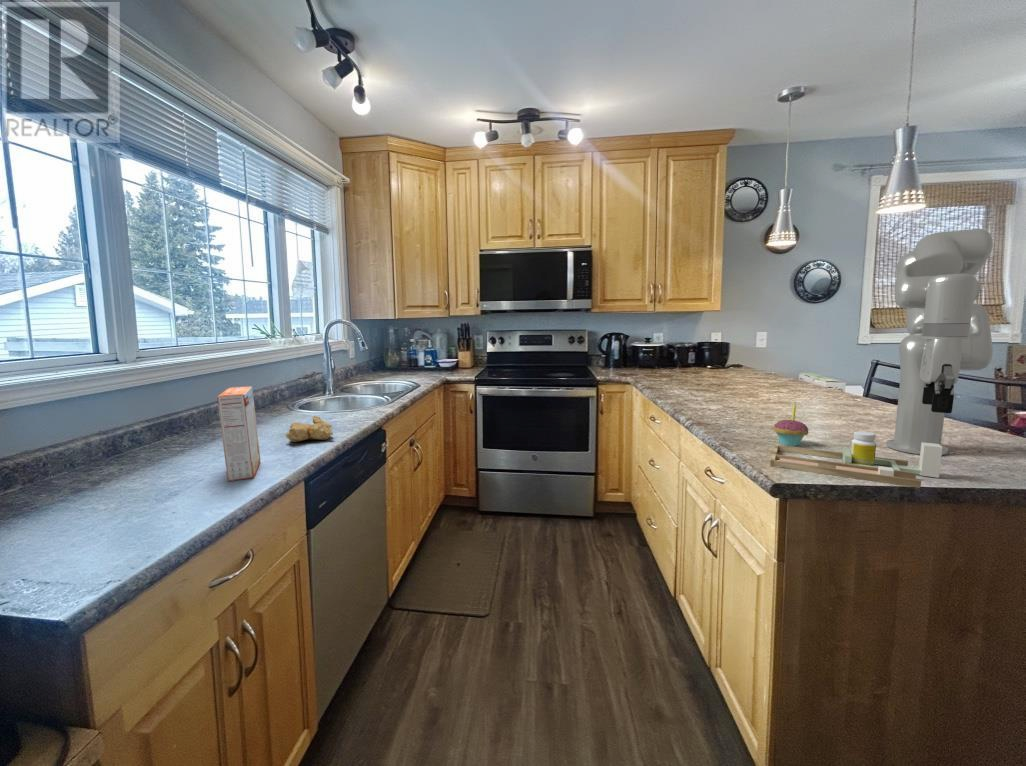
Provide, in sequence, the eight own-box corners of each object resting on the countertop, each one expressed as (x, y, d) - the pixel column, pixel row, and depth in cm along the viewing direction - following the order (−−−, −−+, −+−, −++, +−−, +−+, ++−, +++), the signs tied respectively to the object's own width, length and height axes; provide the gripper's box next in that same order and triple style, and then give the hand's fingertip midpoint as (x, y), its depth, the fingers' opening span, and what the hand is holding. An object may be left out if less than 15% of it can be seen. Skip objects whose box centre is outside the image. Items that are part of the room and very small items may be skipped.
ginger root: (328, 441, 135) (320, 416, 134) (277, 455, 135) (269, 430, 134) (345, 430, 150) (338, 408, 149) (300, 443, 150) (292, 420, 149)
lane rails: (774, 449, 123) (775, 444, 123) (907, 466, 108) (907, 460, 108) (770, 466, 110) (770, 460, 110) (920, 487, 95) (921, 481, 94)
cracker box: (235, 465, 117) (227, 387, 115) (261, 462, 120) (253, 385, 117) (225, 482, 105) (215, 395, 102) (254, 478, 107) (245, 393, 104)
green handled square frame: (842, 458, 114) (844, 432, 113) (932, 470, 105) (936, 441, 104) (844, 468, 107) (846, 439, 106) (941, 481, 98) (945, 450, 97)
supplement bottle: (878, 470, 106) (881, 436, 105) (855, 469, 107) (858, 435, 106) (866, 464, 110) (870, 431, 109) (845, 463, 111) (848, 430, 110)
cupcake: (778, 438, 135) (781, 399, 133) (811, 444, 128) (814, 403, 127) (768, 444, 129) (771, 403, 127) (802, 450, 123) (805, 407, 121)
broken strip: (779, 461, 113) (780, 452, 113) (890, 477, 101) (891, 466, 101) (778, 466, 110) (779, 456, 109) (893, 482, 98) (894, 472, 98)
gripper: (914, 330, 107) (907, 400, 109) (930, 333, 92) (921, 414, 95) (958, 330, 102) (949, 403, 105) (981, 333, 88) (970, 417, 91)
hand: (936, 408), depth 100 cm, fingers open, 9 cm apart
